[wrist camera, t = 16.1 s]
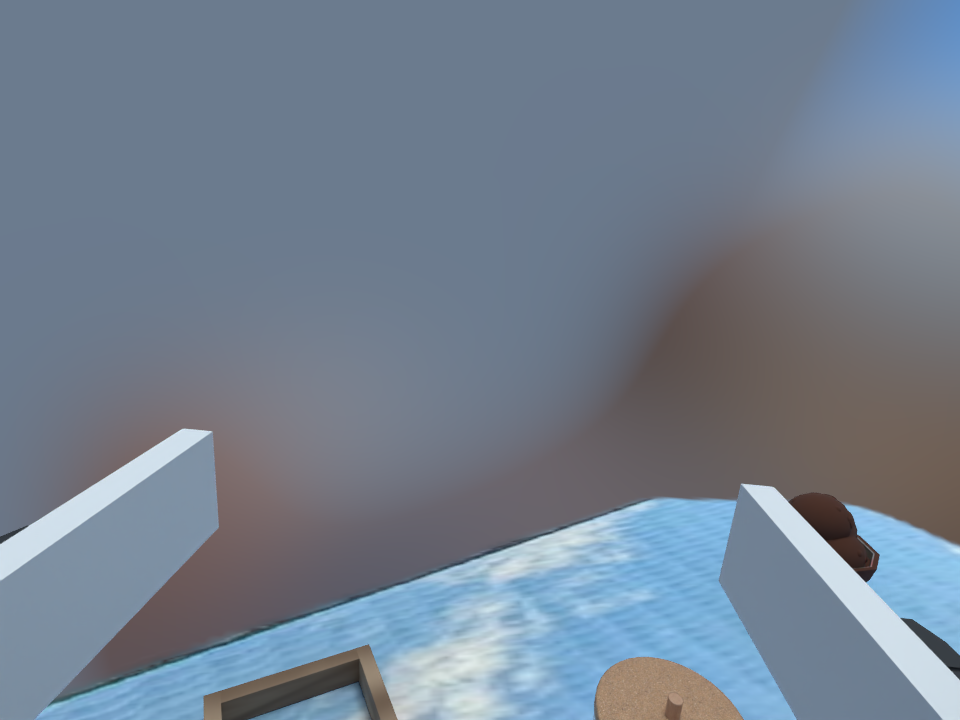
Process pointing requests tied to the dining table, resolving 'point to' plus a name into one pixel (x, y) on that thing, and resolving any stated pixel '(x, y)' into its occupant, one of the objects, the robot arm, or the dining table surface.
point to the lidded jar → (659, 693)
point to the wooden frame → (304, 688)
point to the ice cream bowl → (837, 531)
